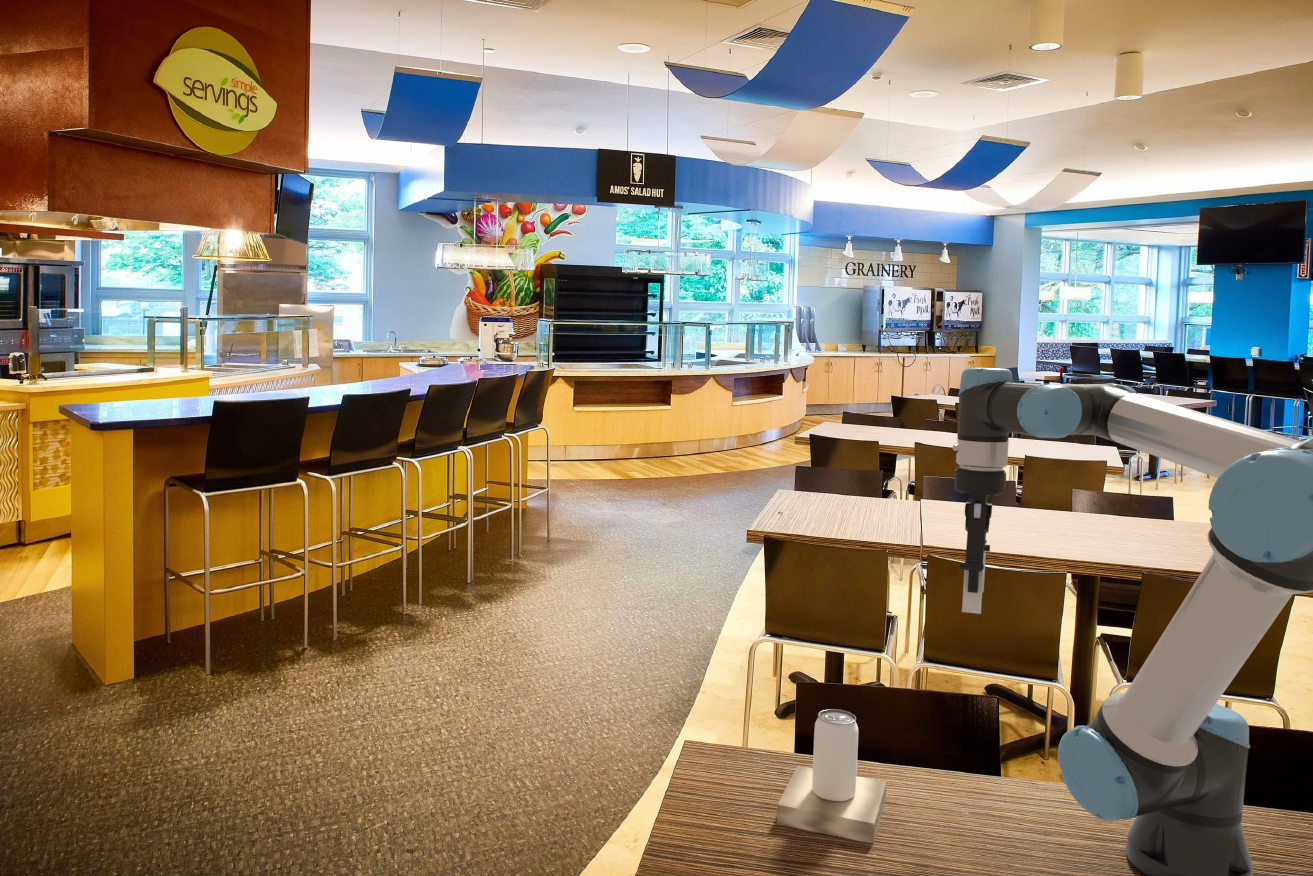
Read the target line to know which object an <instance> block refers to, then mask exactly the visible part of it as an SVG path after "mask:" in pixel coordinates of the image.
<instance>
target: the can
mask: <svg viewBox="0 0 1313 876" xmlns="http://www.w3.org/2000/svg"><path fill="white" fill-rule="evenodd" d="M856 721H857V717H856V715H855V714H853V713H852V712H850V711H847V710H843V709H836V708H833V709H832V708H830V709H823V710H821V711H819V712H818V713H817V718H816V721H815V722H814V734H813V737H814V738H813V755H812V768H813V776H812V790H813V792H814V793H815V795H816V796H818V797H819V798H821V799H823V800H826V801H830V802H845V801H848V800H850V799H852V797H854V795H855V792H856V776H857V772H858V771H857V770H858V749H859V747H858V746H859V727H858V724H857V722H856Z"/></svg>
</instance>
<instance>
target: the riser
mask: <svg viewBox="0 0 1313 876" xmlns="http://www.w3.org/2000/svg"><path fill="white" fill-rule="evenodd" d="M812 776H813V767H808V766H802V765H797V766H796V768H795V770H794V772H793V774H792V775H791V778H790V779H789V782H788V784H787V786H786V787H785V789H784V791H783V793H782V794H781V797H780V799H779V801H778V803H777V806H776V807H777V808H776V811H777V812H776V825H780V826H785V827H788V826H789V827H790V828H795V829H799V830H804V831H809V832H813V833H820V834H824V835H829V836H832V837H837V836H838V838H842V837H843V839H847V840H848V839H849V840H851V841H852V840H853V841H858V842H861V843H862V842H863V843H868V844H874V843H875V839H876V835H877V832H878V829H879V826H880V825H879V824H880V822H881V819H882V816H883V811H884V807H885V804H886V800H887V781H886V780H881V779H875V778H871V777H869V778H868V777H863V776H859V775H858V776H857V775H856V792H855V795H854V797H852V799H850V800H848V801H845V802H830V801H826V800H823V799H821V798H819V797H818V796H816V795H815V793H814V792H813V790H812ZM789 827H788V828H789Z"/></svg>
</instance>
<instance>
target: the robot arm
mask: <svg viewBox="0 0 1313 876" xmlns="http://www.w3.org/2000/svg"><path fill="white" fill-rule="evenodd" d="M957 397H958V411H957V412H958V414H957V415H958V419H957V436H956V437H957V441H956V442H957V444H953V445H952V447H951V448H952V451H955V452H956V456H955V457H956V458H955V462H956V464H957V465H959V466H958V467H956V469H955V470H954V490H955V491H956V492H958V493H962V494H969V495H970V501H969V502H968V501H966V502H965V504H964V516H965V522H964V527H965V528H964V529H965V532H967V534H966V535H967V536H966V547H965V548H966V549H965V560H964V563H960V564H959V570H960V571H961V570H962V571H963V588H962V606H961V607H962V608H961V613H969V614H976V615H977V614H978V615H979V614H980V615H981V614H982V603H983V602H982V599H983V593H985V592H984V591H985V575H986V574H985V573H986V554H987V553H986V552H991V545H990V544H987V534H988V533H989V531H990V530H989V528H990V521H991V518H992V515H993V514H992V513H993V503H988V502H989V501H988V500H989V498H990V496H992V497H993V496H1000V495H1004V494H1005V492H1006V485H1007V472H1006V469H1005V470H1004V469H1003V468H1006V467H1007V466H1008V459H1009V457H1008V456H1009V437H1010V436H1009V434H1010V433H1011V434H1019V435H1023V436H1024V435H1026V436H1032V437H1036V438H1038V439H1046V438H1047V439H1061V438H1066V437H1067V436H1080V435H1082V436H1087V435H1089V436H1090V435H1091V436H1096V437H1099V438H1103V439H1105V440H1109V441H1111V442H1114V443H1118V444H1120V445H1124V446H1126V447H1129V448H1131V449H1135V450H1137V451H1140V452H1144V453H1146V454H1149V455H1152V456H1154V457H1156V458H1160V459H1162V460H1166V461H1168V462H1172V463H1173V464H1177V465H1180V466H1182V467H1186V468H1188V469H1191V470H1194V471H1197V472H1199V473H1202V474H1205V475H1208V476H1211V477H1214V478H1216V481H1215V482H1214V484H1213V486H1212V489H1211V492H1210V494H1209V498H1208V510H1209V511H1211V516H1210V517H1209V521H1210V526H1211V527H1210V529H1209V531H1208V533H1207V541H1208V543H1209V545H1210V548H1211V549H1212V552H1213V553H1212V555H1211V556H1210V558H1209V560H1208V561H1207V562H1206V564H1205V566H1204V567H1203V570H1202V571H1201V572H1200V573H1199V576H1198V577H1197V579H1196V581H1195V582H1194V583H1193V585H1192V587H1191V588H1190V590H1189V592H1188V593H1187V595H1186V596H1185V597H1184V599H1183V601H1182V603H1181V604H1180V606H1179V607H1178V609H1177V611H1176V612H1175V614H1174V615H1173V617H1172V618H1171V620H1170V622H1169V623H1168V625H1167V626H1166V628H1165V630H1164V631H1163V633H1161V636H1160V637H1159V638H1158V641H1157V643H1156V644H1155V645H1154V647H1153V648H1152V650H1151V652H1150V653H1149V654H1148V656H1147V658H1146V659H1145V661H1144V663H1143V664H1142V666H1141V667H1140V669H1139V671H1138V673H1136V676H1135V677H1134V679H1133V680H1132V681H1131V683H1130V685H1129V687H1128V688H1127V690H1126V691H1125V692H1122V691H1121V692H1115V693H1112V694H1110V695H1109V696H1107V698H1105V700H1104V701H1103V702H1102V704H1101V706H1100V708H1099V709H1098V711H1097V712H1096V714H1095V715H1094V718H1092V720H1091V722H1090V723H1088V724H1087V725H1076V726H1074V727H1072V729H1068V731H1066V732H1065V733H1064V734H1063V735H1062V737H1061V739H1060V741H1059V744H1058V749H1057V760H1058V761H1057V762H1058V767H1059V769H1060V772H1061V776H1062V777H1061V778H1062V780H1063V783H1064V784H1065V786H1066V788H1067V790H1068V792H1069V793H1070V795H1071V796H1072V797H1073V799H1074V800H1075V801H1076V803H1077V804H1078V805H1080V807H1081V808H1083V809H1084V810H1085V812H1087V813H1089V814H1090V815H1092V816H1094V817H1095V818H1098V819H1101V820H1103V821H1110V822H1111V821H1113V822H1114V821H1119V820H1123V821H1125V820H1126V821H1128V820H1132V819H1134V818H1135V819H1134V820H1133V823H1132V825H1131V826H1130V828H1129V830H1128V832H1127V836H1126V845H1125V855H1126V856H1127V859H1128V861H1129V862H1130V863H1131V865H1133V867H1135V868H1136V869H1137V870H1139V871H1140V872H1141V873H1142V872H1143V874H1144V875H1145V874H1146V876H1147V875H1148V876H1253V875H1254V866H1253V861H1252V858H1251V854H1250V851H1249V847H1248V843H1247V839H1246V836H1245V832H1244V829H1243V824H1242V820H1243V810H1244V798H1245V788H1246V778H1247V767H1248V760H1249V759H1248V758H1249V749H1250V748H1251V745H1250V727H1249V724H1248V722H1247V720H1246V719H1245V718H1244V717H1243V716H1242V715H1241V714H1239V713H1238V712H1237V711H1235V710H1234V709H1233V710H1232V709H1231V708H1228V707H1226V706H1223V705H1220V704H1219V703H1217V702H1218V701H1219V700H1220V698H1221V697H1222V696H1223V694H1224V692H1226V689H1227V688H1228V687H1230V684H1231V683H1232V681H1233V680H1234V679H1235V678H1236V675H1238V673H1239V671H1240V670H1241V668H1242V667H1243V666H1244V665H1245V663H1246V661H1248V659H1249V657H1250V656H1251V654H1252V653H1253V651H1254V650H1255V649H1256V647H1257V646H1258V644H1259V643H1260V642H1261V640H1262V639H1263V637H1264V636H1265V634H1266V633H1267V632H1268V630H1269V629H1270V627H1271V626H1272V625H1273V623H1274V622H1275V620H1276V618H1277V617H1278V616H1279V615H1280V613H1281V612H1282V610H1283V609H1284V607H1285V606H1286V605H1287V603H1288V602H1289V601H1290V599H1291V597H1292V596H1293V595H1298V594H1308V593H1309V594H1310V593H1313V437H1310V438H1307V439H1305V440H1304V441H1303V440H1299V439H1295V438H1292V437H1288V436H1285V435H1281V434H1278V433H1274V432H1270V431H1268V430H1264V429H1260V428H1257V427H1253V426H1250V425H1248V424H1247V425H1246V424H1242V423H1239V422H1236V421H1233V420H1228V419H1225V418H1222V417H1219V416H1214V415H1212V414H1208V413H1205V412H1201V411H1197V410H1194V409H1190V408H1187V407H1184V406H1180V405H1177V404H1172V403H1170V402H1167V401H1163V400H1159V399H1155V398H1152V397H1148V396H1146V395H1142V394H1139V393H1138V392H1137V391H1136V389H1134V388H1132V386H1129V385H1123V384H1118V383H1117V384H1116V383H1110V382H1107V383H1092V384H1091V383H1090V384H1089V383H1086V384H1082V383H1081V384H1080V383H1079V384H1076V383H1075V384H1074V383H1068V384H1067V383H1063V384H1062V383H1029V382H1028V383H1027V382H1024V383H1023V382H1014V381H1013V372H1012V371H1011V370H1010V369H1009V368H999V367H998V368H995V367H967V368H965V369H964V370H963V371H962V373H961V376H960V384H959V392H958V396H957ZM957 451H958V452H957Z"/></svg>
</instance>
